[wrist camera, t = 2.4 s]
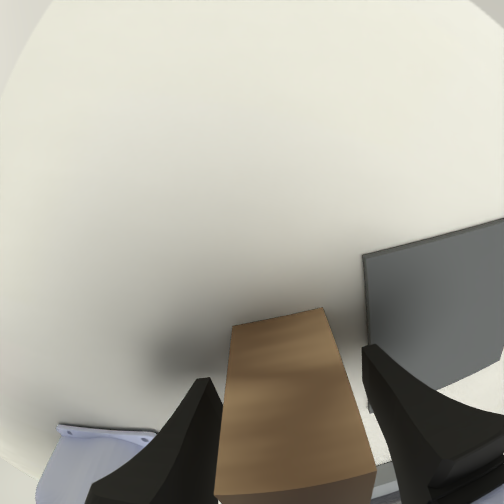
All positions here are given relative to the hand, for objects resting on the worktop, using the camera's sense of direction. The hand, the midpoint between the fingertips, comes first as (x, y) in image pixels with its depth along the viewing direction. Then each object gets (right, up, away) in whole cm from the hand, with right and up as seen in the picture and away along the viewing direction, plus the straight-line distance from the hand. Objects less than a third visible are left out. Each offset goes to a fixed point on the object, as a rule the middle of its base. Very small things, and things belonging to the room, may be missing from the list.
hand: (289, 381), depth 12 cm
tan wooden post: (0, +1, +2) cm, 2 cm away
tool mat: (+9, +2, +1) cm, 9 cm away
